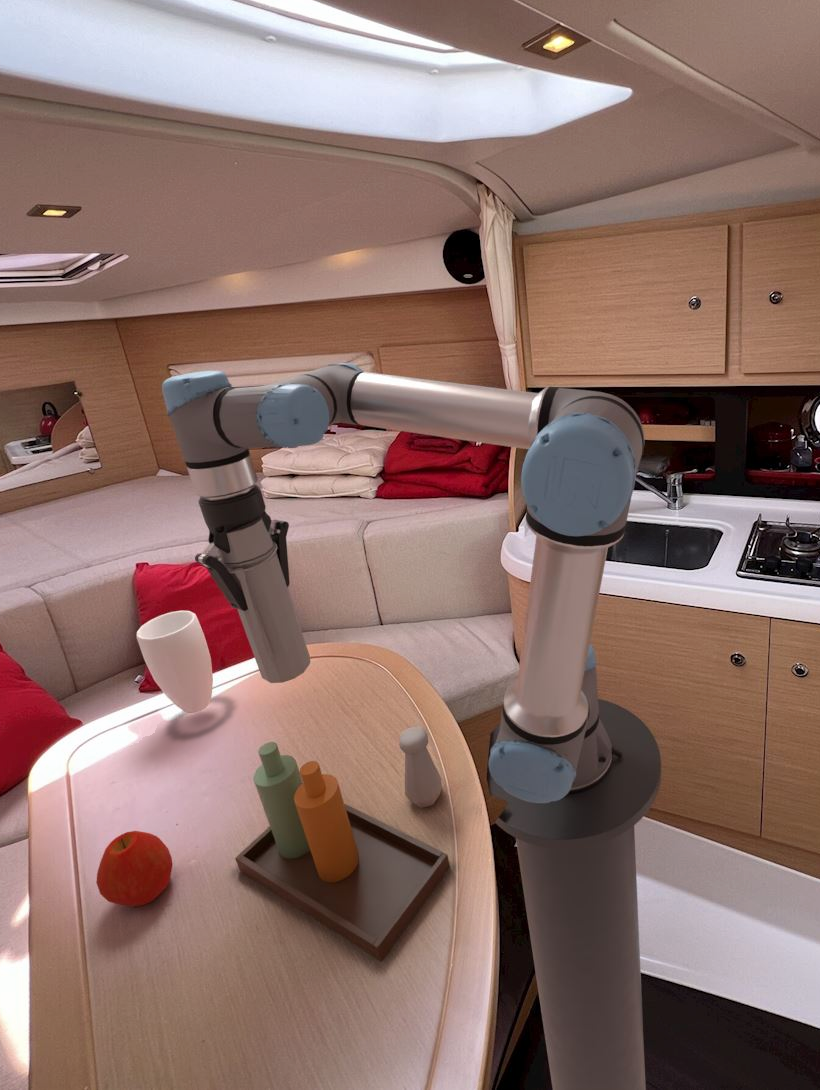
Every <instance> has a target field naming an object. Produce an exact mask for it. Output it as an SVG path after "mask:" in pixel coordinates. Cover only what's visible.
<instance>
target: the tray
mask: <svg viewBox="0 0 820 1090" xmlns="http://www.w3.org/2000/svg"><path fill="white" fill-rule="evenodd" d="M344 805H345V808H346V812H347V815H348V819H349V822H350V826H351V829H352V833H353V836H354V840H355V843H356V847H357V850H358V853H359V861H358V864H357V866H356V868H355V869H354V871H353V872H352V873H351V874H350V875H349V876H348V877H346V878H344V879H343V880H340V881H338V882H332V883H329V882H325V881H323V880H322V879H321V878H320V877H319V875H318V872H317V868H316V865H315V862H314V859H313V856H312V853H311V850H310V851H309V852H307V853H306V854H304V855H303V856H300V857H298V858H293V859H288V858H284V857H283V856H281V854H280V853H279V850H278V847H277V844H276V842H275V839H274V836H273V833H272V830H271V828H270V825H269V826H268V827H267V828H265V830H264V831H263V832H261V834H259V835H258V837H256V838H255V839H254V840H253V841H252V842H250V844H249V845H247V846H246V847H245V848H244V849H243V850H242V851H241V852H240V853H239V854H238V855H237V856H236V857H234V859H235V862H236V865H237V867H238V869H239V871H240V872H241V873H242V874H244V875H246V876H247V877H249V878H251V879H252V880H254V881H255V882H257V883H259V884H260V885H262V886H263V887H265V889H268V890H269V891H271V892H272V893H274V894H275V895H277V896H278V897H280V898H281V899H283V900H284V901H287V903H289V904H291V905H292V906H294V907H296V908H297V909H299V910H300V911H302V912H303V913H305V914H307V915H308V916H309V917H310V918H313V919H314V920H316V921H318V922H319V923H321V925H323V926H325V927H326V928H329V929H330V930H331V931H333V932H334V933H336V934H338V935H339V936H341V937H342V938H344V939H345V940H347V941H349V942H350V943H351V944H353V945H355V946H356V947H358V948H359V949H361V950H362V951H364V952H365V953H367V954H369V955H370V956H372V958H373V957H374V958H375V959H376V960H378V961H380V962H382V961H383V960H384V959H385V957H386V956H387V955H388V953H389V952H390V950H392V948H393V947H394V945H395V944H396V942H397V941H398V939H400V937H401V935H402V934H403V932H404V931H405V930H406V928H408V926H409V924H410V923H411V922H412V920H413V919H414V918H415V916H416V915H417V913H419V911H420V910H421V908H422V907H423V906H424V904H425V903H426V901H427V900H428V899H429V898H430V896H431V895H432V893H433V892H434V890H435V889H436V888H437V886H438V885H439V884H440V882H441V881H442V879H443V878H444V877H445V876H446V874H447V873H448V871H449V870H450V869H451V865H450V860H449V855H448V854H447V853H445V852H443V851H441V850H439V849H437V848H435V847H434V846H431V845H429V844H427V843H425V842H423V841H420V840H419V839H416V838H414V837H412V836H411V835H409V834H406V833H405V832H403V831H400V830H398V829H397V828H394V827H393V826H390V825H388V824H386V823H384V822H382V821H380V820H378V819H376V818H374V817H372V816H371V815H368V814H367V813H364V812H362V811H360V810H358V809H356V808H354V807H352V806H351V805H348V804H346V803H344Z"/></svg>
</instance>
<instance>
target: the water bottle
mask: <svg viewBox="0 0 820 1090" xmlns="http://www.w3.org/2000/svg"><path fill="white" fill-rule="evenodd" d="M227 537H228V541H229V546H230V553H225V552H224V551H222V550H220V551H219V555H220V556H221V558H222V560H221V561H220V562H221V563H222V564H223V565H224V566H225V567H226V568H227V570H228V571H229V573H230V575H231V576H232V578H233V579H234V581H235V583H236V584H237V586H238V587H239V589H240V591H241V592H242V594H243V595H244V597H245V599H246V603H247V606H248V610H246V611H243V610H239V609H236V610H237V613H238V615H239V618H240V621H241V624H242V626H243V629H244V632H245V635H246V638H247V640H248V643H249V646H250V649H251V651H252V654H253V657H254V659H255V662H256V665H257V668H258V671H259V673H260V676H261V678H262V679H263V680H265V681H267V682H268V683H270V684H281V683H282V684H283V683H286V682H289V681H292V680H295V679H296V678H298V677H299V676H300V675H302V674H304V673H305V672H306V671H307V669H308V667H309V666H310V664H311V656H310V653H309V649H308V646H307V643H306V639H305V637H304V634H303V631H302V628H301V624H300V621H299V618H298V616H297V612H296V609H295V605H294V602H293V599H292V596H291V594H290V590H289V586H288V587H287V585H286V582H285V579H284V576H283V572H282V569H281V566H280V562H279V559H278V555H277V552H276V551H277V548H278V547H277V545H276V543H275V542H274V541H272V539H271V537H270V534H269V532H268V531H267V529H266V527H265V525H264V523H263V520H262V518H259V519H256V520H254V521H252V522H250V523H248V524H246V525H243V526H241V527H239V528H237V529H235V530H233V531H230V532H228V533H227ZM238 540H239V542H238ZM242 561H244V562H242ZM243 565H245V566H243Z"/></svg>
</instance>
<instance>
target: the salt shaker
mask: <svg viewBox="0 0 820 1090" xmlns="http://www.w3.org/2000/svg"><path fill="white" fill-rule="evenodd" d="M398 739H399V740H398V742H399V745H398V746H399V749H400V750H401V751H402V752H403V753H404V795H405V797H406V798H407V799H408V800H409V802H411V803H412V804H414V805H415V806H416V807H418V808H419V809H423V808H426V807H432V806H433V805H434V804H435V802H436V801H437V800H438V798H439V797H440V795H441V791H442V787H443V782H442V776H441V774H440V772H439V770H438V768H437V767H436V764H435V762H434V760H433V758H432V756H431V754H430V751H429V750H428V745H429V735H428V732H427V730H426V729H425V728H424V727H421V726H416V725H415V726H410V727H408V728H406V729H405V730H404V731H402V732H401V734H400V735H399V737H398Z"/></svg>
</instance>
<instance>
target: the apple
mask: <svg viewBox="0 0 820 1090" xmlns="http://www.w3.org/2000/svg"><path fill="white" fill-rule="evenodd" d="M172 869H173V859H172V854H171V851H170V850H169V848H168V846H166V844H165V843H164V842H163V840H162V839H161V838H160V837H158V836H157V835H155V834H153V833H149V832H145V831H138V830H132V831H126V832H124V833H122V834H120V835H118V836H117V837H115V838H114V839H112V840H111V841H110V842H109V844H108V845H107V846H106V848H105V849H104V852H103V854H102V857H101V859H100V861H99V865H98V869H97V874H96V881H95V882H96V886H97V889H98V892H99V894H100V896H102V897H103V898H104V899H105V900H106V901H107V902H109V903H112V904H116V905H118V906H119V905H120V906H125V907H138V906H139V907H140V906H143V905H147V904H148V903H151V902H152V901H154V900H155V899H156V898H157V897H159V896H160V895H161V894H162V893H163V891H164V890H165V889H166V888H167V887H168V885H169V883H170V881H171V876H172V871H173V870H172Z"/></svg>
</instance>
